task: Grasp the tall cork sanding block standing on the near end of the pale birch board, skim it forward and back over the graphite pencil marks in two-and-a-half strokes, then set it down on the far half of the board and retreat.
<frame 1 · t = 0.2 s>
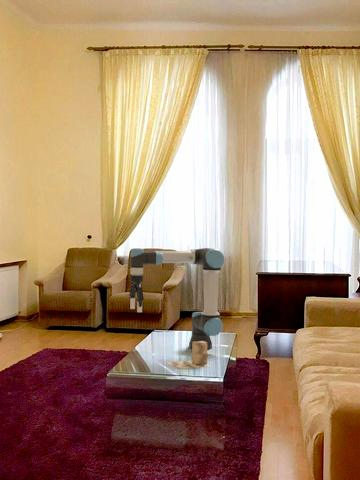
hand: (136, 310, 323), 28 cm above the table, fingers open, 13 cm apart
board: (187, 366, 303), on the table
sanding block: (199, 363, 306), point 1 cm above the table, touching board
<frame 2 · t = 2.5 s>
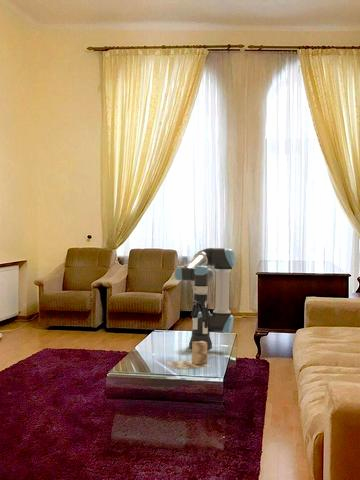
hand: (199, 331, 306), 19 cm above the table, fingers open, 13 cm apart
nothing on the table moved.
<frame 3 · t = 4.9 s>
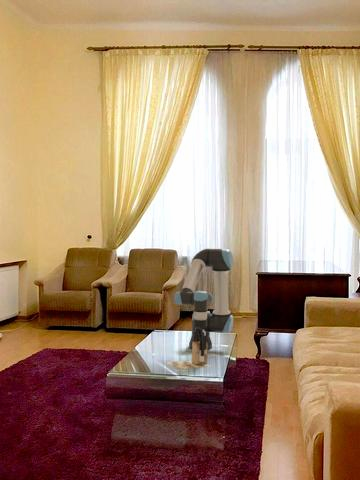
hand: (199, 360, 306), 3 cm above the table, fingers closed on sanding block, 5 cm apart
sanding block: (199, 363, 306), point 1 cm above the table, touching board, gripper
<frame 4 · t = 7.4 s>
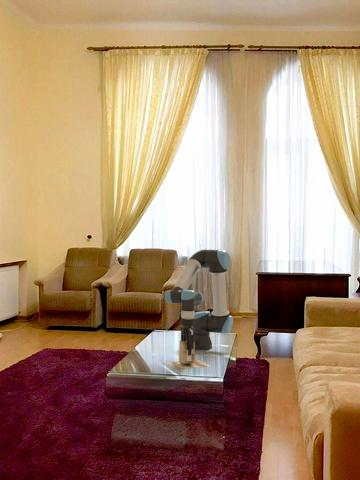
hand: (186, 359, 303), 4 cm above the table, fingers closed on sanding block, 5 cm apart
sanding block: (186, 362, 303), point 2 cm above the table, touching gripper
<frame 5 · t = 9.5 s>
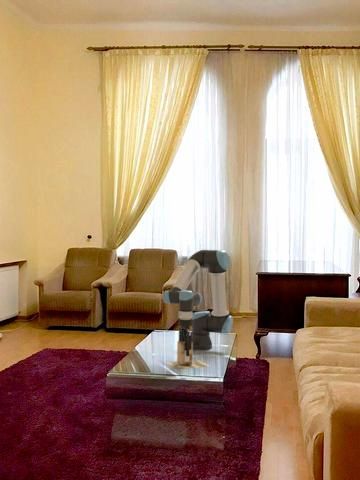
hand: (184, 360, 303), 4 cm above the table, fingers closed on sanding block, 5 cm apart
sanding block: (184, 363, 303), point 2 cm above the table, touching gripper
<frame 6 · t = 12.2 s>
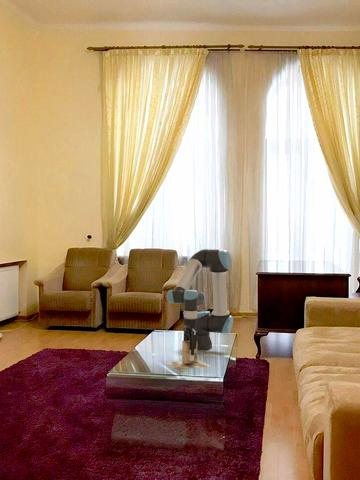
hand: (189, 359, 304), 4 cm above the table, fingers closed on sanding block, 5 cm apart
sanding block: (189, 362, 304), point 2 cm above the table, touching gripper
when the fingers open (3 cm above the table, at t = 14.4 s): sanding block stays where it is, resting on board.
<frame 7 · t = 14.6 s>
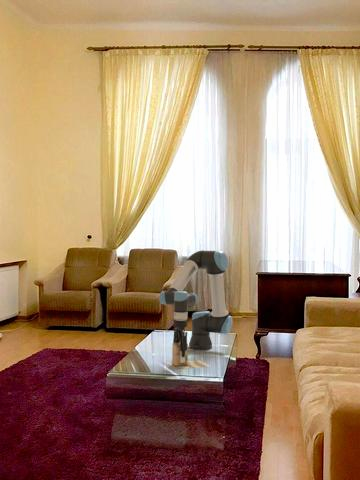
hand: (179, 360, 301), 4 cm above the table, fingers open, 7 cm apart
sanding block: (179, 365, 302), point 1 cm above the table, touching board
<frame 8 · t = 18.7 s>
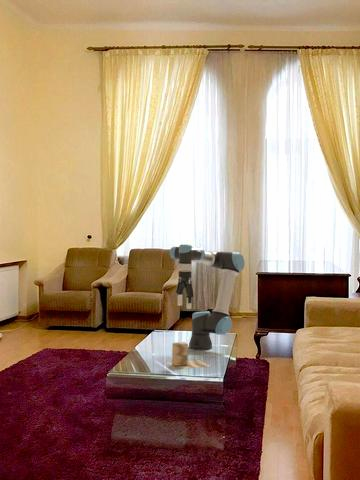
hand: (184, 307, 319), 31 cm above the table, fingers open, 13 cm apart
nothing on the table moved.
at the end: sanding block inside the target area (0.0 cm from its centre), point 1.2 cm above the table; sanding block tilted 0°; sanding block moved 12.0 cm from its start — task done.
